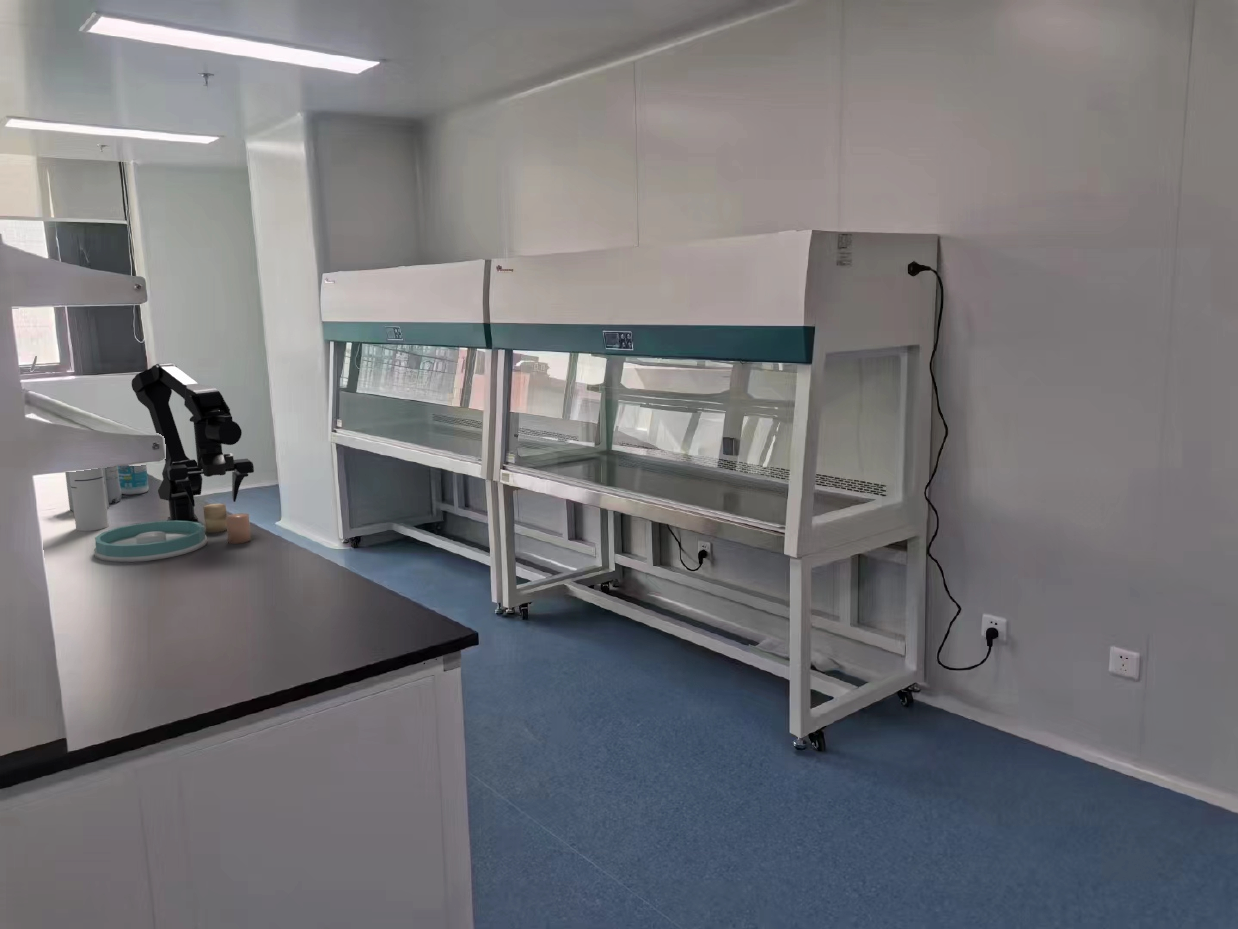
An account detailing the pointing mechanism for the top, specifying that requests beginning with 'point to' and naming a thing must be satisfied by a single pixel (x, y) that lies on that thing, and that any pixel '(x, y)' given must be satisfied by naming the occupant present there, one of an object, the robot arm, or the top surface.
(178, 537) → the groove tray
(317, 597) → the top surface
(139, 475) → the pill bottle
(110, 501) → the bottle
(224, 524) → the wood cylinder
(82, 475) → the cylindrical container
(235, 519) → the pinkish brown short cylinder
